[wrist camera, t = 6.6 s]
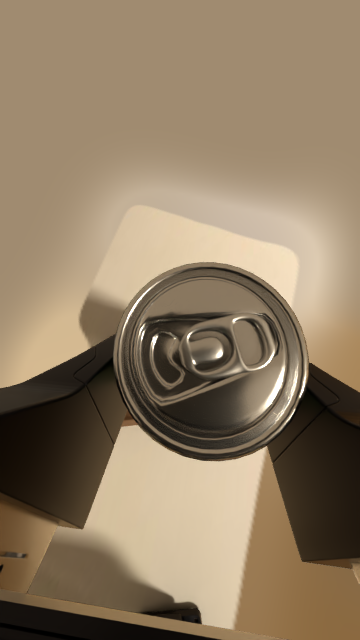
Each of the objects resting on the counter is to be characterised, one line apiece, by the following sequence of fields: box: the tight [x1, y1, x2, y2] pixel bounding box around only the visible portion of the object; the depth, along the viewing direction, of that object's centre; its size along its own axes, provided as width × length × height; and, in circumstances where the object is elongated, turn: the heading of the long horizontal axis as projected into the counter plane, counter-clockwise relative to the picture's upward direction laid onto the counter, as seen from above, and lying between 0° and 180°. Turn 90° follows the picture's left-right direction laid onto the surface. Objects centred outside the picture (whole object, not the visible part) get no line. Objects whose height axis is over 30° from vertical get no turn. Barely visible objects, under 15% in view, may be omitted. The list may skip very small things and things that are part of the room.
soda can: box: [113, 262, 309, 461], centre depth 9 cm, size 5×5×12 cm
